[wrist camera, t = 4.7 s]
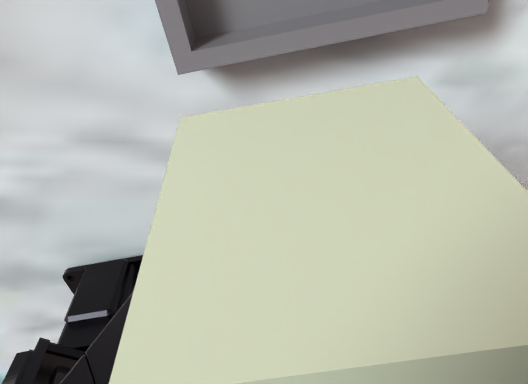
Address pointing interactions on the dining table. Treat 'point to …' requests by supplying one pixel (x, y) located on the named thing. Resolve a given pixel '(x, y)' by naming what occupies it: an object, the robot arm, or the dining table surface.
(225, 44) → the tray
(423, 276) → the green block
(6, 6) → the dining table surface
